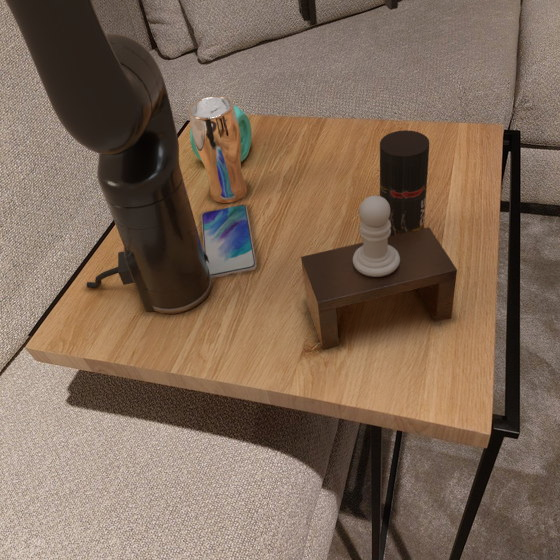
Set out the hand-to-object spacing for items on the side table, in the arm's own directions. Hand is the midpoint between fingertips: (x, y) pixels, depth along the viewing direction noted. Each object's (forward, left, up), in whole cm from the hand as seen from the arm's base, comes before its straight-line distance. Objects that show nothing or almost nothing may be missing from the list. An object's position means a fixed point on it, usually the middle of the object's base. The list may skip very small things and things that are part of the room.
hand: (351, 15), depth 61 cm
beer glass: (-16, +19, -31) cm, 40 cm away
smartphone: (-18, +7, -32) cm, 37 cm away
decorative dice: (-15, +30, -31) cm, 46 cm away
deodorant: (+6, -1, -31) cm, 32 cm away
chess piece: (-2, -13, -23) cm, 27 cm away
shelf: (-2, -13, -31) cm, 34 cm away
